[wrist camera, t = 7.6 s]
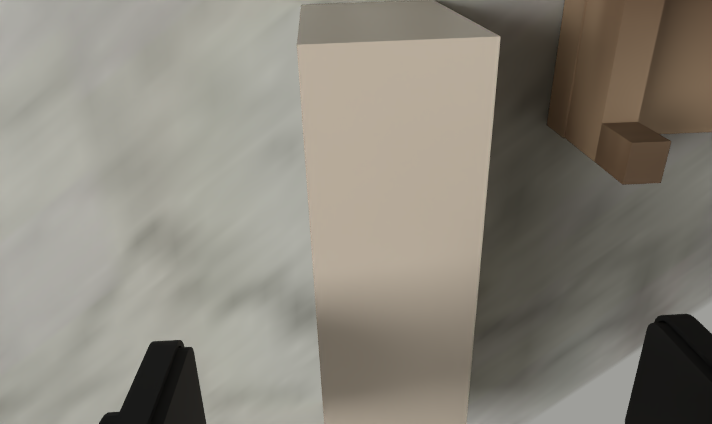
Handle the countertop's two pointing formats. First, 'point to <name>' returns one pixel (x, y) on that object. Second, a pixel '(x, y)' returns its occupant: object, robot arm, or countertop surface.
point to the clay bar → (396, 202)
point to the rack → (632, 81)
